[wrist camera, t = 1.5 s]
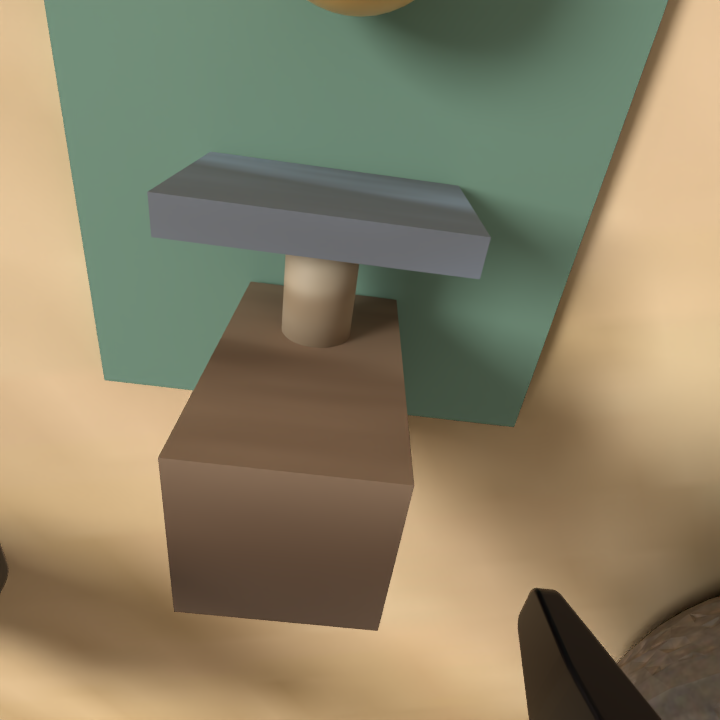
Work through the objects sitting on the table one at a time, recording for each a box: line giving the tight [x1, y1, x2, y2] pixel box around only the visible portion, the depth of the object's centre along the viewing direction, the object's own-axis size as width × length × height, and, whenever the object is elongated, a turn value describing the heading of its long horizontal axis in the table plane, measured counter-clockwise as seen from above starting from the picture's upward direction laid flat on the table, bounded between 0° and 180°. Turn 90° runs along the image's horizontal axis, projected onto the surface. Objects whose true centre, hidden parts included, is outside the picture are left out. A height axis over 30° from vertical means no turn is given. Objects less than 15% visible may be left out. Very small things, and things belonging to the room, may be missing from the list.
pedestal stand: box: [147, 152, 491, 631], centre depth 11 cm, size 7×6×7 cm
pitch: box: [44, 0, 668, 427], centre depth 11 cm, size 21×13×1 cm, turn 173°
